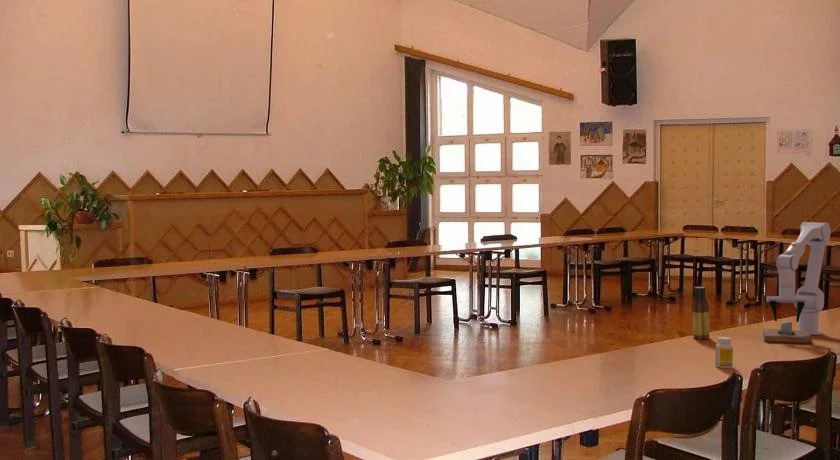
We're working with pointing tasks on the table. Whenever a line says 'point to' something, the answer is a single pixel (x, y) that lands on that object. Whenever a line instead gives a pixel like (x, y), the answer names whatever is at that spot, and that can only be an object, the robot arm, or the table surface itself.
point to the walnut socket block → (786, 336)
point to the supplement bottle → (724, 353)
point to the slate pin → (786, 327)
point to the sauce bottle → (700, 315)
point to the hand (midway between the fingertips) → (786, 321)
